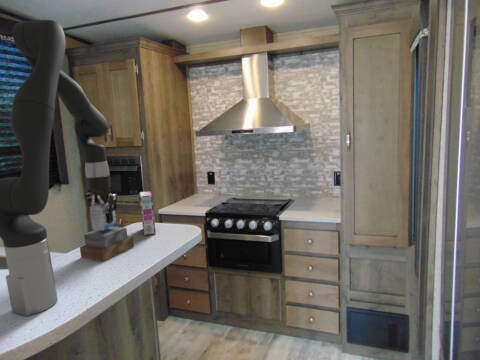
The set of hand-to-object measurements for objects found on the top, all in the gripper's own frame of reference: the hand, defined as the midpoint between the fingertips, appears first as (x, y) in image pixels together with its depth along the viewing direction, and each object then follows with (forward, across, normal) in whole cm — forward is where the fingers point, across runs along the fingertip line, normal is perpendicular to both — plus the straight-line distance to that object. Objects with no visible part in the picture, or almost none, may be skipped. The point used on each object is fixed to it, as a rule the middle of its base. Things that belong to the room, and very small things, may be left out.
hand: (104, 222), depth 121 cm
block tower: (+11, 0, 0) cm, 11 cm away
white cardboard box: (+12, -2, +24) cm, 27 cm away
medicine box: (+2, 0, 0) cm, 2 cm away
